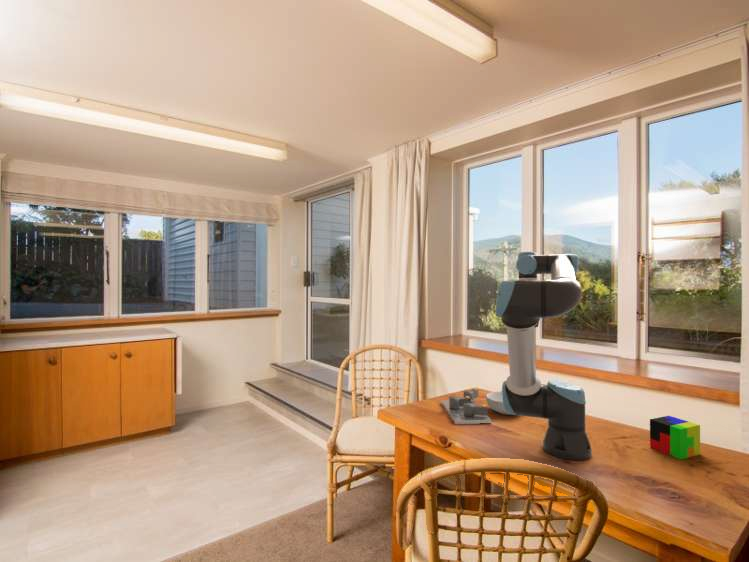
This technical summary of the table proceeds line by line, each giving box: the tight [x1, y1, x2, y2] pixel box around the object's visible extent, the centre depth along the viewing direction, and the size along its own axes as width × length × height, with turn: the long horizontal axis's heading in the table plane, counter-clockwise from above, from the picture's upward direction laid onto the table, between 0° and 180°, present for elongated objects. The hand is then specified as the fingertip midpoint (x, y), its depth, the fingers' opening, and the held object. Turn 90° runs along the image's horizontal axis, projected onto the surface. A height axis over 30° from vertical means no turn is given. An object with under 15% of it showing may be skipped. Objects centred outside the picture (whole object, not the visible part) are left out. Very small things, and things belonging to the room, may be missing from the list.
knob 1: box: [448, 396, 471, 409], centre depth 178 cm, size 10×4×4 cm, turn 101°
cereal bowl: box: [486, 390, 513, 416], centre depth 176 cm, size 17×17×7 cm
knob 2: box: [463, 388, 479, 402], centre depth 189 cm, size 10×4×4 cm, turn 137°
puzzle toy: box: [649, 415, 701, 460], centre depth 135 cm, size 10×10×10 cm
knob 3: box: [464, 403, 489, 417], centre depth 167 cm, size 10×4×4 cm, turn 77°
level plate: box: [440, 399, 492, 425], centre depth 176 cm, size 28×15×2 cm, turn 2°
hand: (528, 343), depth 166 cm, fingers closed
